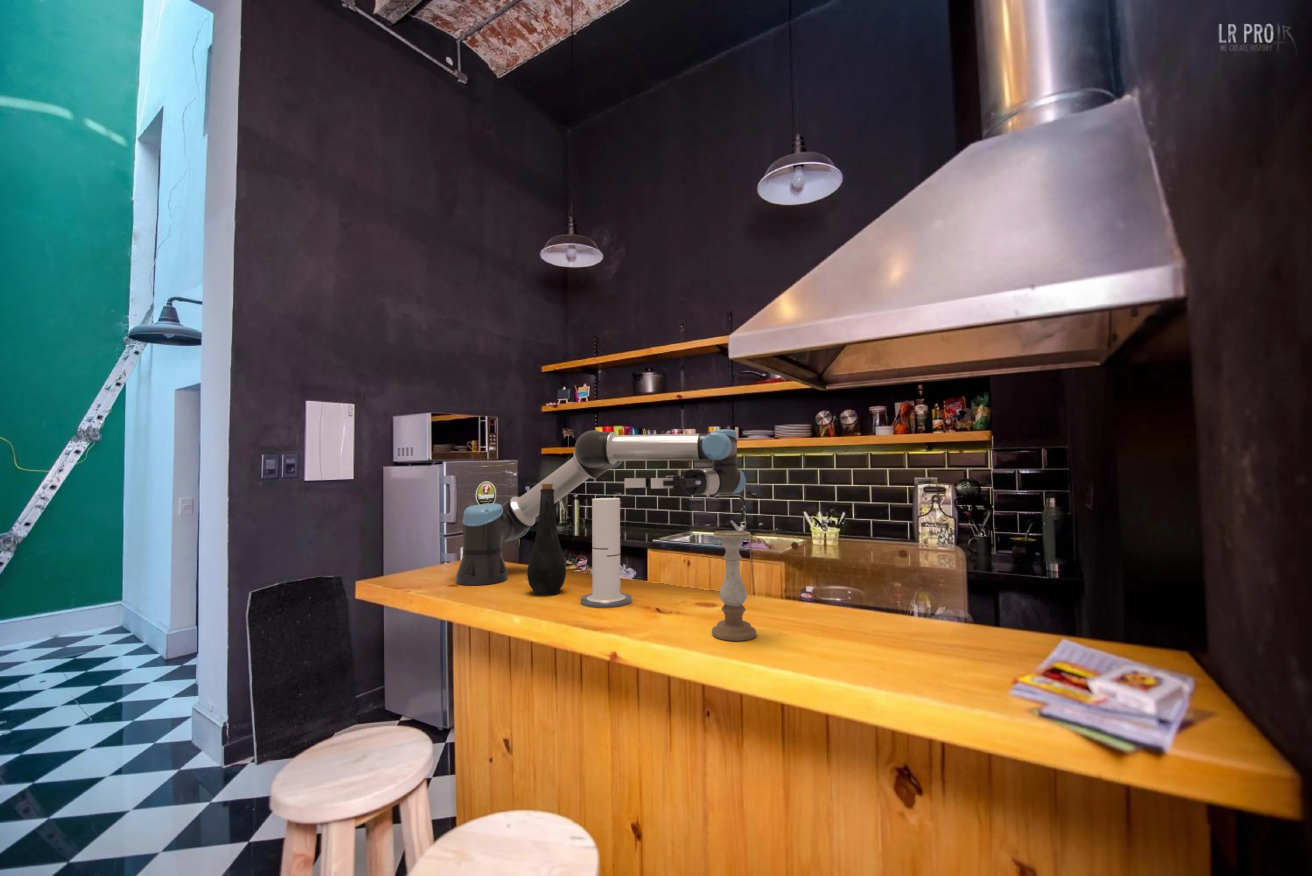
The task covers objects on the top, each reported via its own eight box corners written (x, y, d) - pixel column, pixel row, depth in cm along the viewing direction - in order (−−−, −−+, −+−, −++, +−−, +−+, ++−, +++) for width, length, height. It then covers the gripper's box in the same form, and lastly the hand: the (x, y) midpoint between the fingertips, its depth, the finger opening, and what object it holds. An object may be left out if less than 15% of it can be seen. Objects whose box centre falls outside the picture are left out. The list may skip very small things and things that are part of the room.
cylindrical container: (594, 593, 138) (594, 498, 140) (621, 593, 138) (621, 498, 139) (590, 600, 131) (590, 499, 132) (619, 600, 131) (618, 499, 132)
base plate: (572, 600, 136) (572, 595, 136) (616, 593, 143) (616, 589, 143) (595, 610, 125) (595, 605, 125) (641, 602, 132) (641, 598, 132)
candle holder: (740, 644, 99) (737, 535, 100) (703, 635, 105) (701, 532, 106) (764, 634, 105) (762, 531, 107) (728, 626, 111) (726, 529, 112)
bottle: (570, 588, 150) (570, 483, 152) (560, 597, 139) (560, 484, 142) (534, 588, 151) (535, 483, 153) (521, 596, 140) (522, 484, 143)
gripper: (728, 496, 143) (664, 498, 131) (675, 494, 163) (615, 496, 152) (728, 468, 143) (663, 468, 131) (674, 469, 164) (615, 470, 152)
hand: (637, 483), depth 142 cm, fingers open, 13 cm apart
